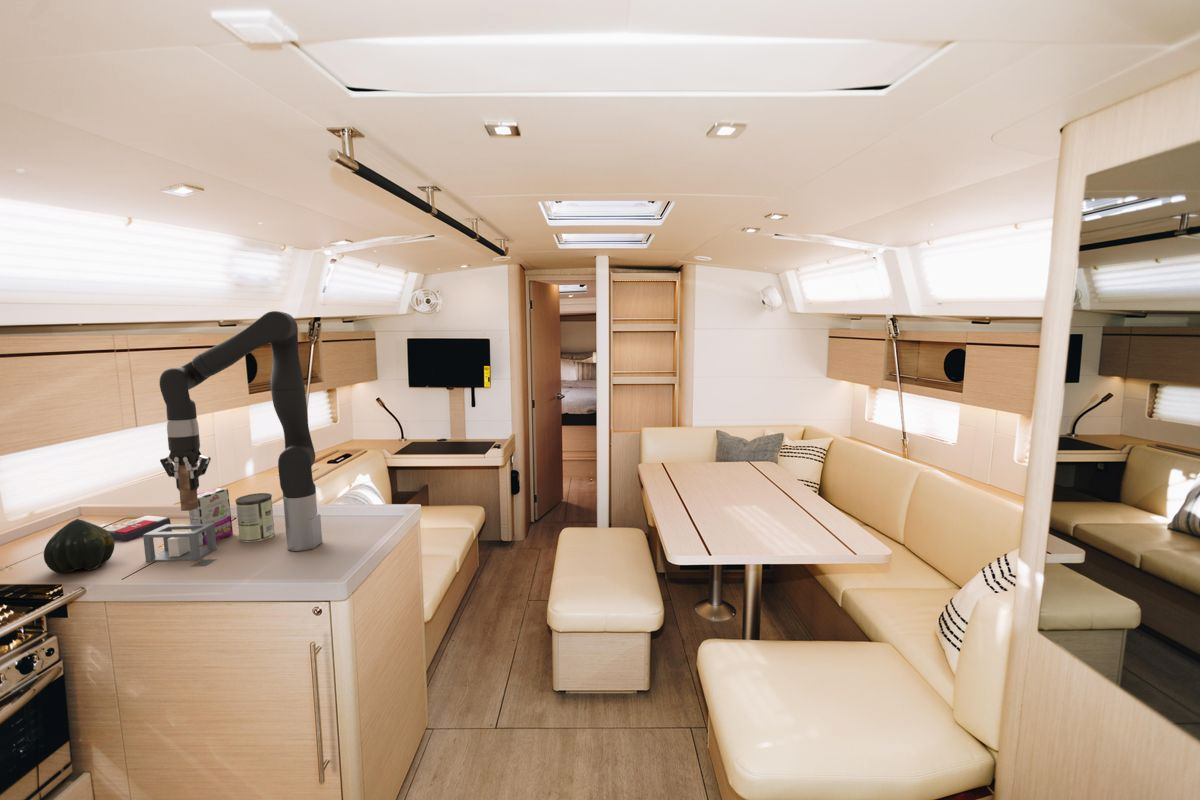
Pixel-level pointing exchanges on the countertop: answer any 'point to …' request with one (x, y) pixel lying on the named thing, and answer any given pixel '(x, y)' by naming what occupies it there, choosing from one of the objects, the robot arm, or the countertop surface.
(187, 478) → the wooden block
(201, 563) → the stylus pad
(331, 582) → the countertop surface
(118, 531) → the flat navy red box
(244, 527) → the coffee can
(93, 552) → the squash
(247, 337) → the robot arm
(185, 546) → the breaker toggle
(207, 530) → the breaker guard
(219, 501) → the candy bar box
